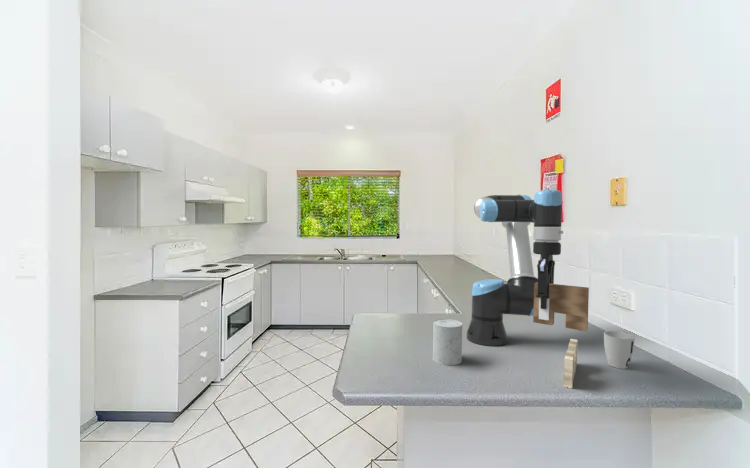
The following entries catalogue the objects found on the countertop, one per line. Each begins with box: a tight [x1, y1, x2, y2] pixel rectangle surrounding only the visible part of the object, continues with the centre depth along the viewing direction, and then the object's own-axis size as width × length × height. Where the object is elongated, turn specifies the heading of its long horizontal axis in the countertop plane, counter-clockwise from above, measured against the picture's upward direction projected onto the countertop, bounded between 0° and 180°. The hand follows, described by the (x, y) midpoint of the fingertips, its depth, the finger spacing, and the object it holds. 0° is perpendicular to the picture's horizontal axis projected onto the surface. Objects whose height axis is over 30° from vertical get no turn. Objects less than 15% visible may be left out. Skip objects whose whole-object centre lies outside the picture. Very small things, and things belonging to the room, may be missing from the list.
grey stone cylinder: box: [432, 318, 463, 366], centre depth 113 cm, size 10×10×12 cm
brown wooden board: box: [532, 282, 590, 332], centre depth 101 cm, size 14×3×12 cm, turn 52°
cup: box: [603, 330, 636, 370], centre depth 110 cm, size 8×8×10 cm
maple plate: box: [563, 338, 578, 389], centre depth 102 cm, size 20×2×8 cm, turn 146°
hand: (545, 317), depth 104 cm, fingers closed on brown wooden board, 3 cm apart
